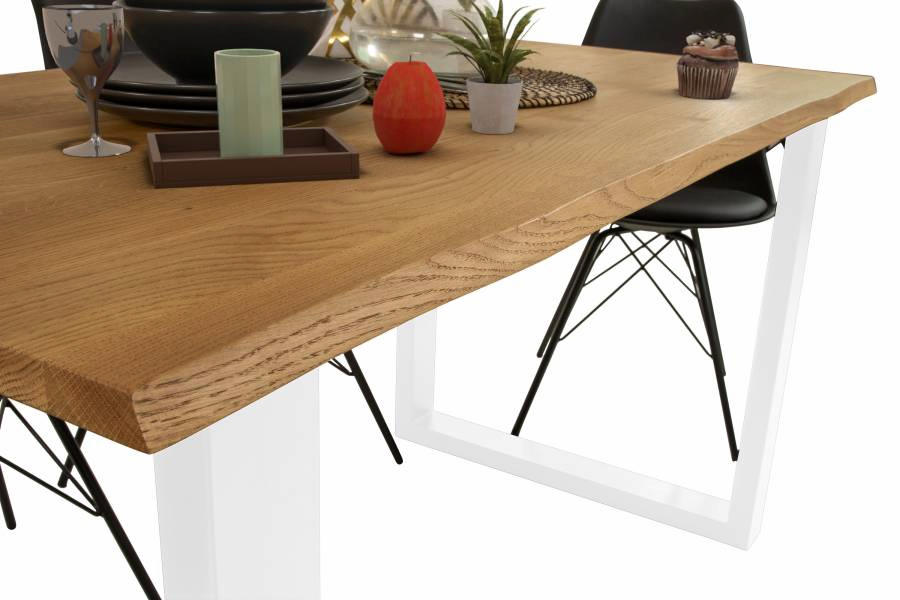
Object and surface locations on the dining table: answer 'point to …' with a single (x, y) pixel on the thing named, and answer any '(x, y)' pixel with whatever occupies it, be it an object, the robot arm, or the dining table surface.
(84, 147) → the wine glass
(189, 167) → the tray
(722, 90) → the cupcake
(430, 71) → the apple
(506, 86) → the house plant
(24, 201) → the dining table surface
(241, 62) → the cup
